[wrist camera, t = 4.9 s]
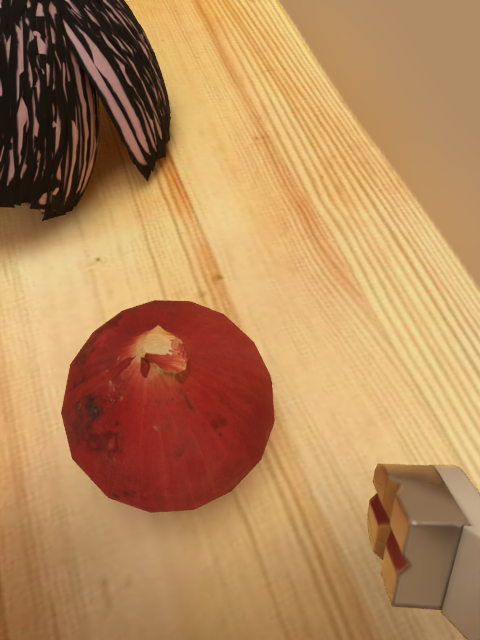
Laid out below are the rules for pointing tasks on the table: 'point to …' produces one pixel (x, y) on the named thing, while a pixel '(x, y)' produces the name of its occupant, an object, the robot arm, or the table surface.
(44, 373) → the table surface
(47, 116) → the decorative flower
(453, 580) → the robot arm
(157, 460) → the onion
